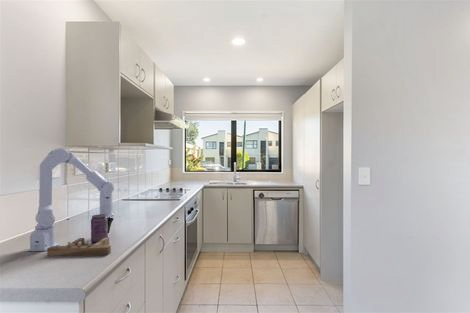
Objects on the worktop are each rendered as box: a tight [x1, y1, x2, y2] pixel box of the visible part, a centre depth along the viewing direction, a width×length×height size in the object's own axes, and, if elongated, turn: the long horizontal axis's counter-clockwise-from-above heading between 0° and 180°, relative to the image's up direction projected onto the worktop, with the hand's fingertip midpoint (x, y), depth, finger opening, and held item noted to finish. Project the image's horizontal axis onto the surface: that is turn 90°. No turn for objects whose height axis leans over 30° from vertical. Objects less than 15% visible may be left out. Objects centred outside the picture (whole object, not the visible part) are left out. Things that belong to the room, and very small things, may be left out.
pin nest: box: [46, 237, 112, 257], centre depth 124 cm, size 14×24×5 cm, turn 91°
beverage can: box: [90, 213, 109, 244], centre depth 136 cm, size 7×7×12 cm
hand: (106, 233), depth 144 cm, fingers closed
